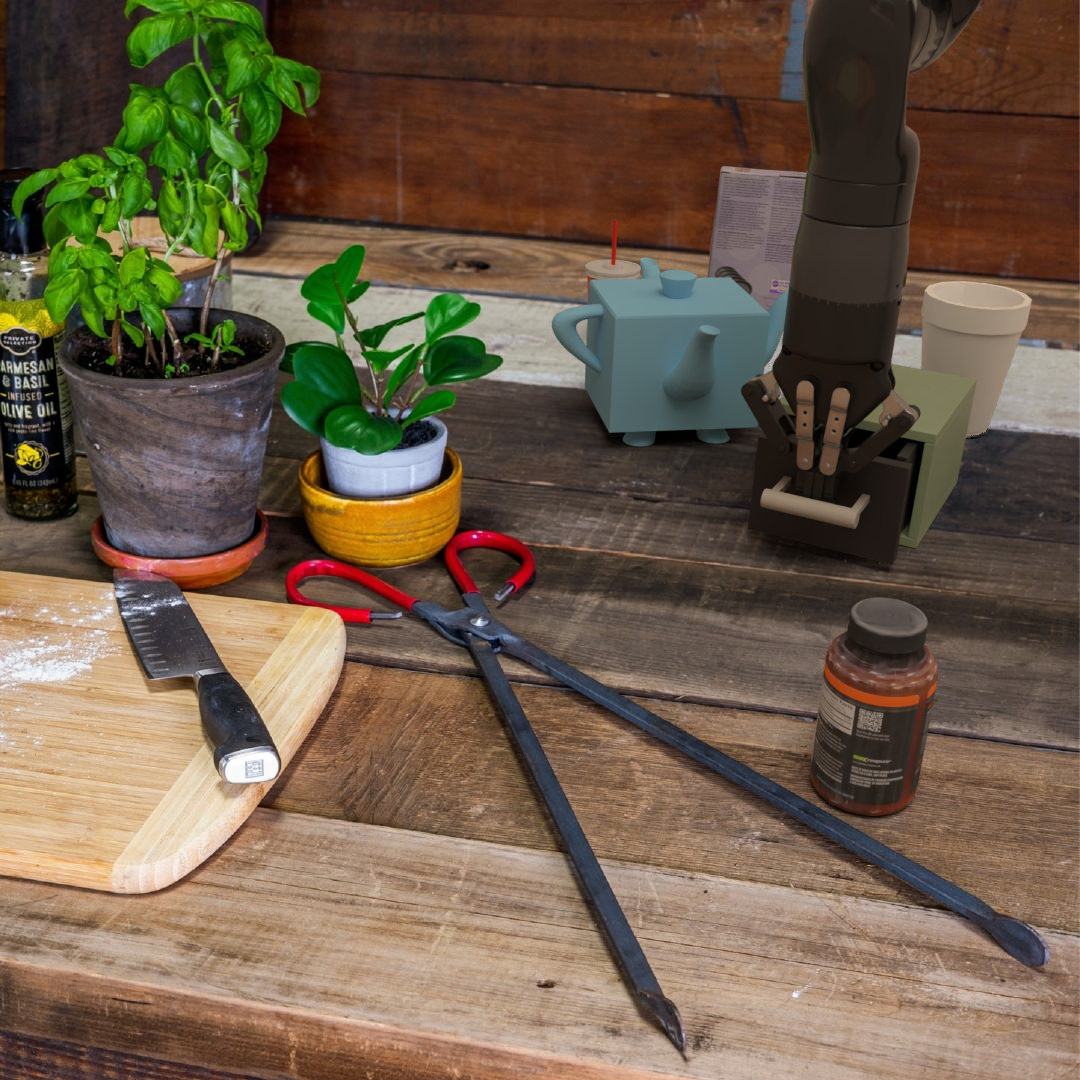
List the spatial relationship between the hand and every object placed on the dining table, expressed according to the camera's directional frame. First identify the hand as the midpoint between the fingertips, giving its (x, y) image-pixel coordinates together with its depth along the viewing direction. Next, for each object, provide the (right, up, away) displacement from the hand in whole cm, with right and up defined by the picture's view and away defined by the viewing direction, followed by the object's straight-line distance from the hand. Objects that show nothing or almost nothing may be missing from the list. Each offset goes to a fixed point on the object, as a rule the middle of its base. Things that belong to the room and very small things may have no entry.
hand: (813, 513), depth 93 cm
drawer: (+3, -1, +7) cm, 8 cm away
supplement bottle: (-2, -16, -21) cm, 27 cm away
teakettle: (-7, +9, +28) cm, 30 cm away
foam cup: (+20, +9, +29) cm, 36 cm away
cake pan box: (+9, +24, +58) cm, 63 cm away
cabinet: (+7, +2, +14) cm, 16 cm away
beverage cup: (-12, +20, +49) cm, 54 cm away
